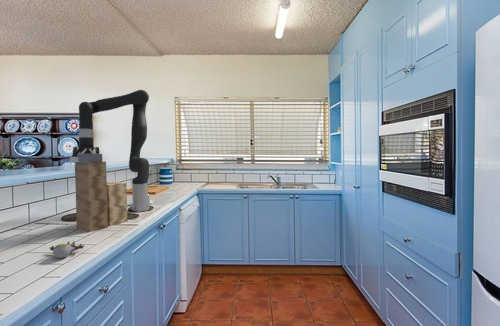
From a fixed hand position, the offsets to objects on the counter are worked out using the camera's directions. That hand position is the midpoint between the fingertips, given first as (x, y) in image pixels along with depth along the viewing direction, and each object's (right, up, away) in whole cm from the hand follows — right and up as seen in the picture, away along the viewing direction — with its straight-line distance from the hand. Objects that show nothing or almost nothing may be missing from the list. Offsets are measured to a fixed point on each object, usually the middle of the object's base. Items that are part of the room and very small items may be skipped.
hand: (86, 164), depth 177 cm
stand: (+17, -31, -25) cm, 44 cm away
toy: (+25, -34, -61) cm, 74 cm away
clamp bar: (+12, +1, -24) cm, 27 cm away
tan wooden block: (+22, -31, -14) cm, 40 cm away
